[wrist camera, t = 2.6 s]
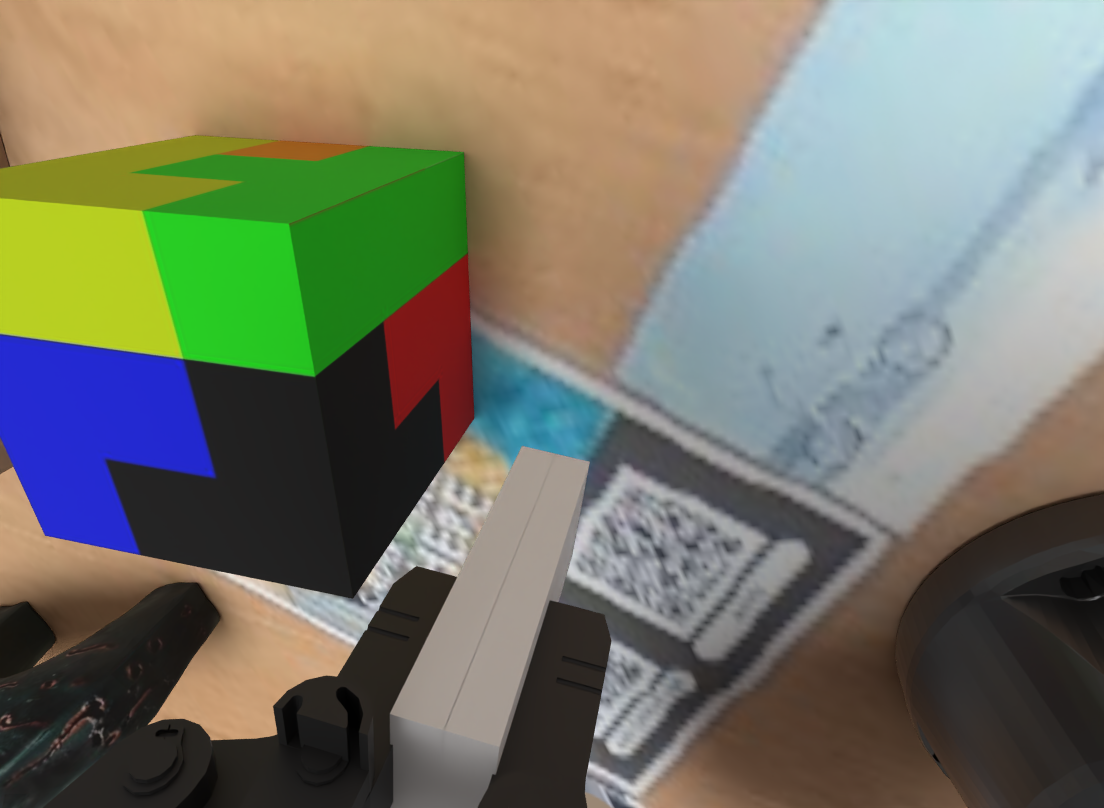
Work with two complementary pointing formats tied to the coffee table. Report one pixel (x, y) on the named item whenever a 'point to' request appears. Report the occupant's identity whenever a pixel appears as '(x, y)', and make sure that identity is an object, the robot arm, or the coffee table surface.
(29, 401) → the puzzle toy
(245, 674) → the coffee table surface
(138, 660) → the ceramic cat
